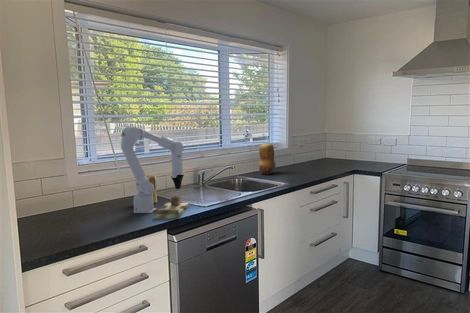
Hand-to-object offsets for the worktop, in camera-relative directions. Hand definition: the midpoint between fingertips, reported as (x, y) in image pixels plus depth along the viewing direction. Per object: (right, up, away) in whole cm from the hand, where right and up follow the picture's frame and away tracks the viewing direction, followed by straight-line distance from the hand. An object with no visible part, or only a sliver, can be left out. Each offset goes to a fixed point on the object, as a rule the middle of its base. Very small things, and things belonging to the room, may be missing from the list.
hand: (178, 188), depth 189 cm
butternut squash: (+57, +3, +92) cm, 109 cm away
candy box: (-18, -9, +9) cm, 22 cm away
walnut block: (0, -8, -5) cm, 10 cm away
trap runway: (-1, -11, -12) cm, 16 cm away
